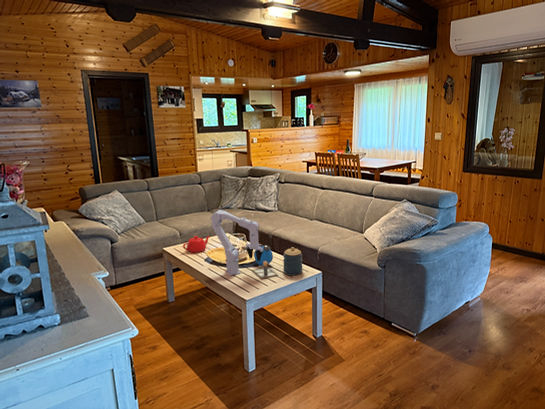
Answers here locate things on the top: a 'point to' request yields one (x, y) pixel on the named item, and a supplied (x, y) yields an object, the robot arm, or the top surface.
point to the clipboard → (261, 273)
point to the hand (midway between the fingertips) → (254, 259)
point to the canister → (292, 261)
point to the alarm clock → (264, 255)
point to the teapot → (196, 244)
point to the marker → (265, 268)
